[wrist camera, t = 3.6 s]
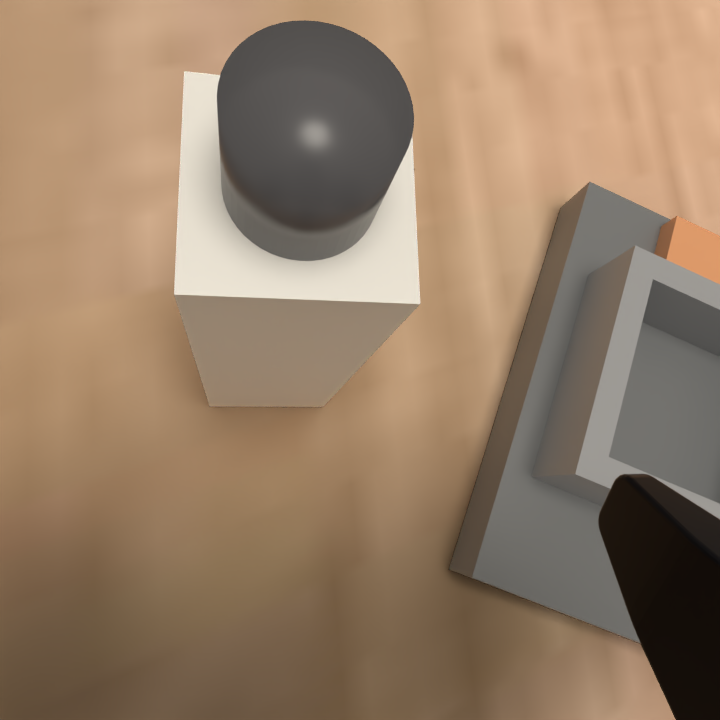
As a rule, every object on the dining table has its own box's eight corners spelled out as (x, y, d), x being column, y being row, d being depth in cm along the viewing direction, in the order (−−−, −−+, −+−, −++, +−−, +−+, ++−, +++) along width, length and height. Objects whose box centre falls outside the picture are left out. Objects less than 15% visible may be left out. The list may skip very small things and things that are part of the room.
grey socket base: (690, 663, 20) (813, 708, 16) (448, 569, 19) (509, 589, 15) (760, 300, 24) (874, 257, 20) (560, 207, 23) (634, 141, 19)
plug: (322, 407, 20) (468, 253, 7) (209, 406, 19) (155, 236, 7) (321, 301, 20) (451, 0, 8) (212, 297, 20) (170, -40, 7)
